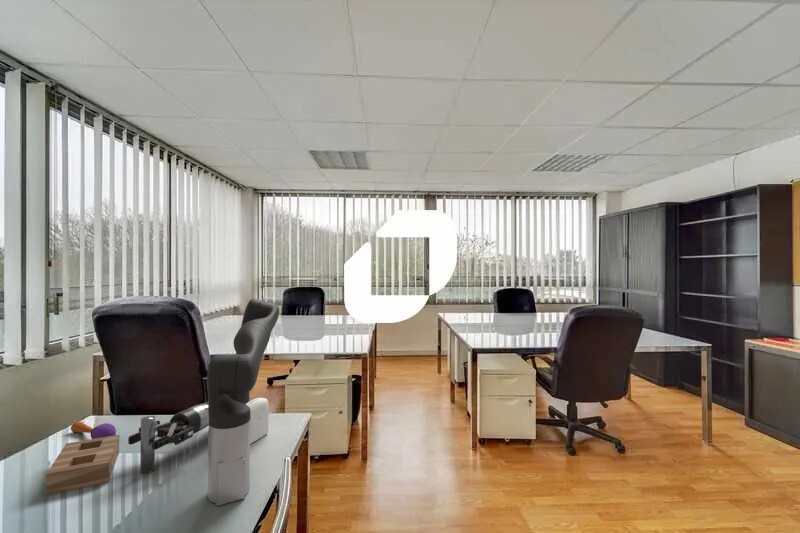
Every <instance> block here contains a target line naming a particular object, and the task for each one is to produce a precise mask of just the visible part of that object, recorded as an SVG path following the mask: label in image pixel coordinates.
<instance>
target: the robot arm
mask: <svg viewBox="0 0 800 533" xmlns="http://www.w3.org/2000/svg"><path fill="white" fill-rule="evenodd" d="M279 308H280V307H279V306H278V305H277V304H276V303H273V302H269V301H265V300H262V299H258V298H251V299H250V300H249V301H248V303H247V304H246V306H245V308H244V312H243V316H242V321H241V324H240V328H238V330H237V332H236V334H235V336H234V338H233V343H232V344H233V348H234V351H235V352H236V353H235V354H217V355H214V356H213V357H212V358H211V359H210V361H209V363H208V367H207V376H206V377H207V379H206V380H207V381H206V382H207V384H206V385H207V401H205V402H203V403H201V404H195V405H194V406H191V407H189V408H187V409H184V410H182V411H178V412H177V413H175V414H173V416H172V417H171V419H170V420H169V421H165V422H163V423H161V421H160V420H155V433H156V434H155V441H153V442H152V449H153V450H155V451H156V450H158V449H161V448H163V447H165V446H166V445H168V446H169V445H175V446H177V445H179V444H181V443H183V442H185V441H187V440H189V439H191V438H192V437H194V434H196V433H198V432H201V431H202V430H204V429H206V428H208V454H207V456H208V458H207V460H208V461H207V463H208V464H207V465H208V466H207V467H208V468H207V469H208V470H207V499H208V501H210V502H211V503H214V504H215V506H216V507H217V506H222V505H225V504H230V503H232V502H233V503H234V502H236V501H241V500H245V499H246V495H247V494H248V493H249V491H250V487H251V486H250V482H251V481H250V478H251V476H250V473H251V468H250V467H251V465H250V464H251V444H250V417H251V412H250V408H249V407H248V406H247V405H245V404H246V403H248V402H249V401H250V393H251V391H252V390H253V389H254V387H255V385H256V383H257V380H258V376H259V371H260V367H261V363H262V362H261V361H262V359H263V356H264V353H265V351H266V349H267V346H268V344H269V341H270V338H271V335H272V331H273V329H274V327H275V326H276V324H277V322H278V320H279V316H280V309H279ZM127 442H128V443H127V444H128V445H134V444H137V443H138V442H141V426H140V427H138V432H136V433H133V434H131V435H129V436H128V440H127Z"/></svg>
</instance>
